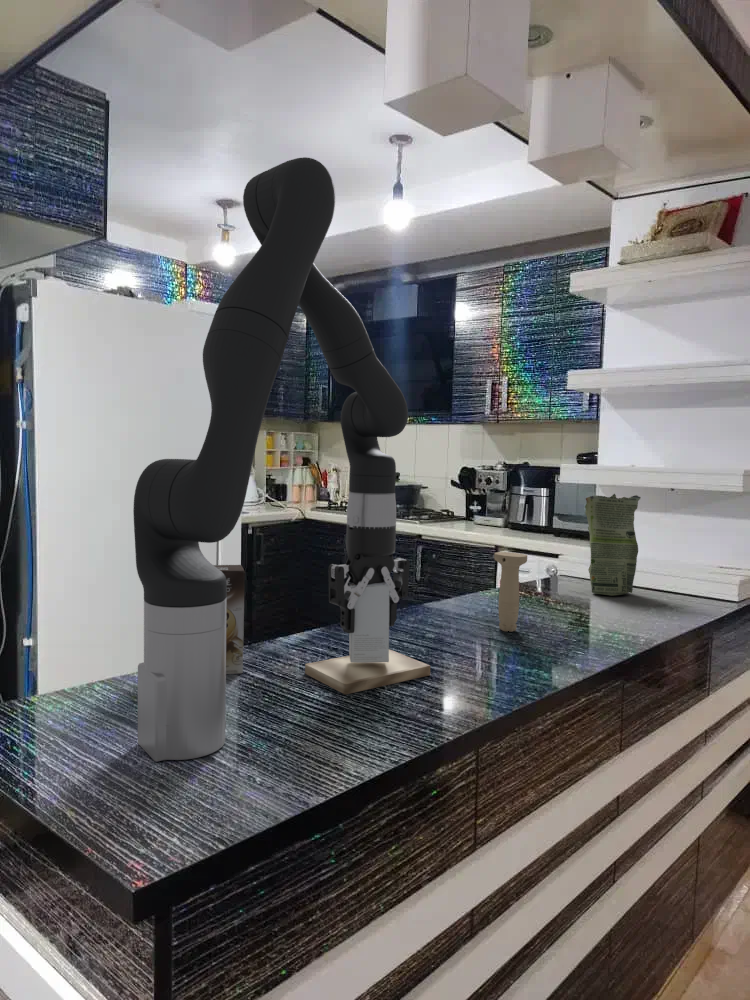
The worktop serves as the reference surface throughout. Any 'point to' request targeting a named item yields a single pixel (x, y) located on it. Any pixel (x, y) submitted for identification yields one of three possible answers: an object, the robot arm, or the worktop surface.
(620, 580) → the pouch
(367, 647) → the skincare box
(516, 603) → the handle
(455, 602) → the worktop surface
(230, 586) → the coffee box
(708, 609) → the worktop surface
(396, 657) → the birch board
